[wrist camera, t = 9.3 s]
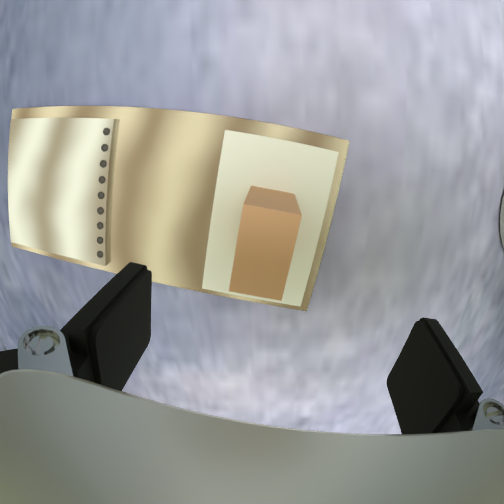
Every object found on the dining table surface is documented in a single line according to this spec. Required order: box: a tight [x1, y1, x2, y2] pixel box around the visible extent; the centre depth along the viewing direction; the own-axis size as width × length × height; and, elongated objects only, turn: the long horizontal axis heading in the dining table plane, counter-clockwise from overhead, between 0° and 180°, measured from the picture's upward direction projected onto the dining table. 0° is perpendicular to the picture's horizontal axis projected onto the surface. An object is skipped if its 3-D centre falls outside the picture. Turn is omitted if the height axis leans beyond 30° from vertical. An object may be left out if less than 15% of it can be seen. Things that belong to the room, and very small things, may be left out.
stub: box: [202, 130, 339, 306], centre depth 20 cm, size 8×12×7 cm, turn 170°
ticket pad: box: [8, 106, 349, 311], centre depth 24 cm, size 30×14×3 cm, turn 80°
